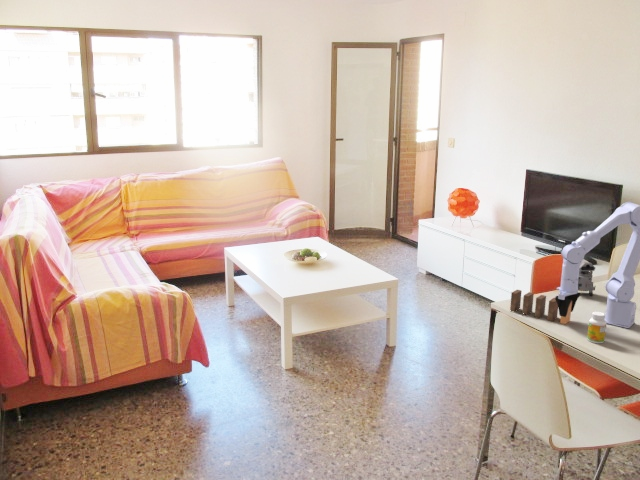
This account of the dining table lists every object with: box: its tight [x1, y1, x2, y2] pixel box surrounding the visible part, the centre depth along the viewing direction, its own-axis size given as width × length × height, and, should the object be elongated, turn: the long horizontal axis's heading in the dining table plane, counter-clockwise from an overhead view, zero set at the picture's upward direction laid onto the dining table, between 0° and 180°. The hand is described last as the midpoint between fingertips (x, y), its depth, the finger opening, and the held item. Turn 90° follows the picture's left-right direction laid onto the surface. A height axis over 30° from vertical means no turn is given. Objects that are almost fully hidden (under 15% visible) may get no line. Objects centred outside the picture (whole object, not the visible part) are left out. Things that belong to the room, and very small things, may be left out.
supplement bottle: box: [586, 311, 607, 344], centre depth 203 cm, size 5×5×10 cm
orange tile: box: [559, 302, 572, 325], centre depth 220 cm, size 2×5×8 cm, turn 139°
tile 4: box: [521, 291, 535, 315], centre depth 229 cm, size 2×5×8 cm, turn 139°
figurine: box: [578, 258, 596, 297], centre depth 250 cm, size 9×12×15 cm
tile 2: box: [546, 297, 559, 322], centre depth 223 cm, size 2×5×8 cm, turn 139°
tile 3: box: [534, 294, 547, 319], centre depth 226 cm, size 2×5×8 cm, turn 139°
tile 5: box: [509, 289, 522, 312], centre depth 232 cm, size 2×5×8 cm, turn 139°
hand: (566, 313), depth 220 cm, fingers open, 6 cm apart
